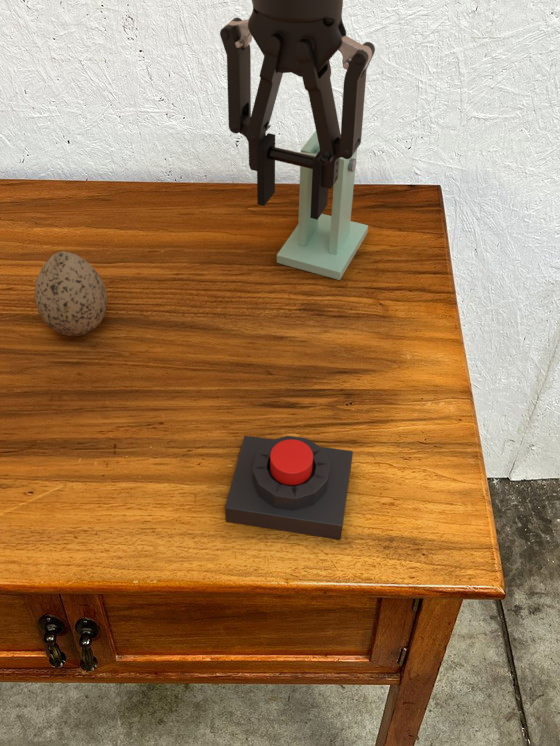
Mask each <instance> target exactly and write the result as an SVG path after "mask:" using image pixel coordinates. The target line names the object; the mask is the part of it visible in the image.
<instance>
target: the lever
mask: <svg viewBox="0 0 560 746" xmlns="http://www.w3.org/2000/svg"><path fill="white" fill-rule="evenodd" d="M319 151H320V147H319V146H318V149H317V154H318V152H319ZM317 154H316V153H302V152H301V151H299V152H298V151H294V150H290V149H287V148H281V147H277V146H275V147H273V146H270V147H269V149H268V153H267V157H268V159H272V160H275V162H281V163H285V164H289V165H293V166H298V167H300V166H301V167H305V168H310V169H313V159H314V158H315V156H316V155H317Z"/></svg>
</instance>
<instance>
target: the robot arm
mask: <svg viewBox="0 0 560 746" xmlns="http://www.w3.org/2000/svg"><path fill="white" fill-rule="evenodd" d="M251 4H252V12H251V14H250V16H249V18H248V19H241V18H240V17H234V18H232V19H231V20H230V21H229V22H228V23H227V24H226V25H224V27H222V28H221V29H220V31H219V37H220V40H221V43H222V45H223V48H224V51H225V55H226V78H227V80H226V81H227V113H228V115H227V116H228V117H227V118H228V129H229V131H230V132H231V133H232V134H241V136H243V137H245V139H246V140H247V144H248V145H247V147H248V166H249V168H250V171H254V172H256V182H257V183H256V195H257V196H256V197H257V198H256V200H257V201H256V202H257V205H258V206H263V207H265V206H266V205H267V204H268V202H269V201H270V200H271V198H272V196H274V194H275V193H276V160H272V159H268V157H267V153H268V149H269V147H270V146H273V147H276V134H275V133H270V132H267V131H268V130H269V129H270V128H271V126H272V125H271V124H270V123H271V119H272V115H273V111H274V107H275V104H276V100H277V97H278V93H279V89H280V86H281V82H282V78H283V75H284V74H289V73H292V74H294V75H295V76H298V77H301V78H302V82H303V86H304V90H305V91H307V93H308V99H309V103H310V108H311V113H312V117H313V123H314V127H315V131H316V133H317V138H318V142H319V147H320V151H319V152H318V154H317V155H316V156H315V158H314V159H313V172H312V194H311V216H310V218H313V219H316V220H318V218H319V217H320V215H321V214H323V212H324V211H325V209H326V208H327V207H328V199H329V190H332V188H334V184H335V182H336V181H337V179H338V174H339V173H338V172H339V161H340V157H343V158H344V159H350V158H351V157H352V156H353V154H354V153H355V151H356V150H357V151H358V148H359V147H360V145H361V144H362V135H363V122H364V108H365V98H366V97H365V95H366V84H367V72H368V71H367V70H368V67H369V66H370V63H371V62H372V59H373V56H374V54H375V52H376V46H375V45H374V44H373V43H372V42H370V41H365V42H364V43H361V42H358V41H356V40H355V39H353V38H352V37H349V36H348V35H347V30H346V27H345V25H344V22H343V8H344V7H343V6H344V0H251ZM253 40H254V42H255V43H256V45H257V46H258V48H259V50H260V52H261V53H262V55H263V59H262V64H261V68H260V72H259V83H258V86H257V91H256V94H255V99H254V103H253V106H252V88H251V87H252V83H251V82H252V80H251V79H252V78H251V77H252V76H251V75H252V73H251V70H252V69H251V66H252V65H251V64H252V63H251V59H252V58H251V56H252V55H251V43H252V41H253ZM337 52H339V53H340V54H341V55H342V60H341V62H342V68H343V69H344V70H346V71H345V74H344V79H343V89H342V90H343V92H342V106H341V107H342V108H341V124H340V123H339V118H338V112H337V107H336V103H335V102H336V101H335V97H334V92H333V86H332V85H333V84H332V81H331V80H332V79H331V76H332V68H331V61H330V60H331V59H332V58H333V56H334V55H335V54H336V53H337ZM251 109H252V110H251Z"/></svg>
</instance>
